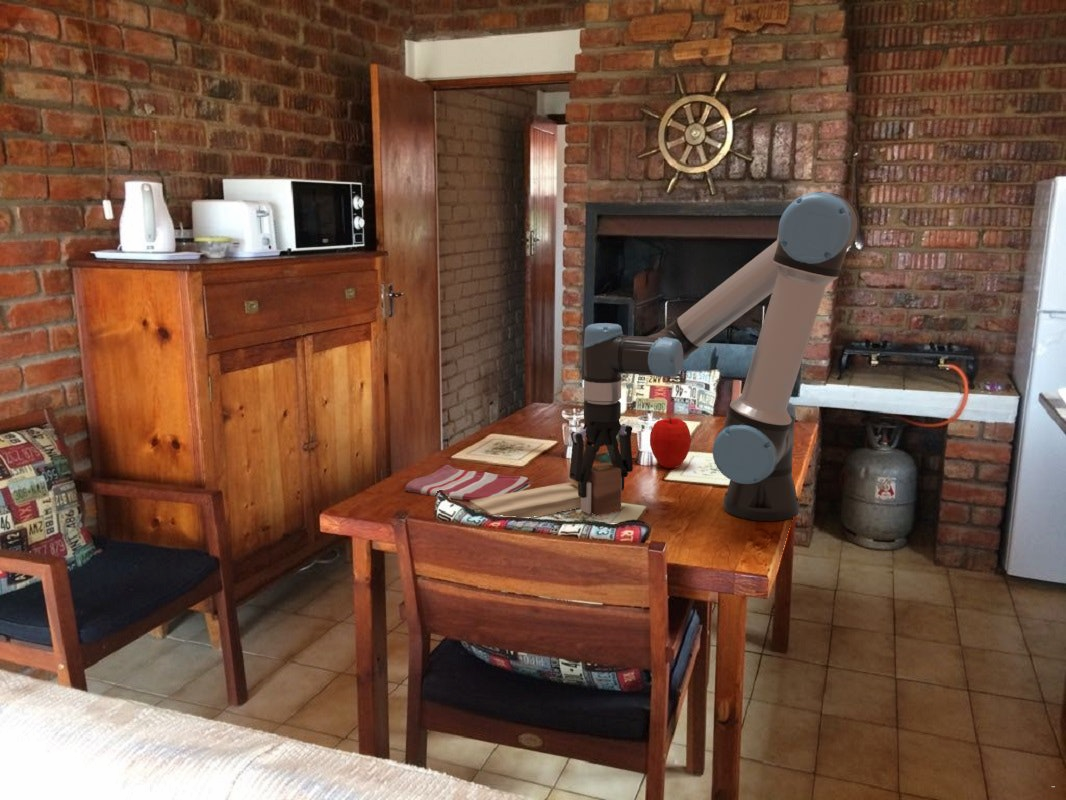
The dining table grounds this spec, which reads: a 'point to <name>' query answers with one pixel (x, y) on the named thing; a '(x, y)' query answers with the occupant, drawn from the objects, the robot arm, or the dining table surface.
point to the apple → (670, 442)
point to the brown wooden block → (604, 489)
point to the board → (531, 501)
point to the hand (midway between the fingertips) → (601, 508)
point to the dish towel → (467, 484)
